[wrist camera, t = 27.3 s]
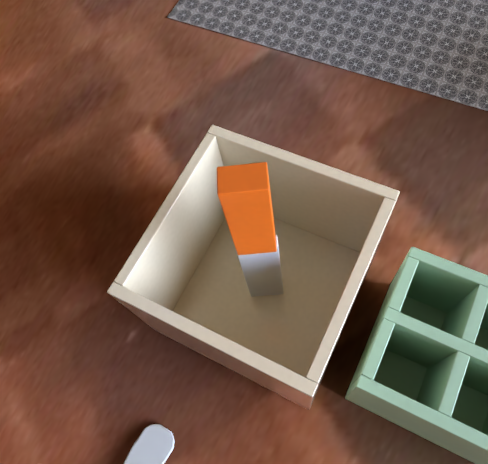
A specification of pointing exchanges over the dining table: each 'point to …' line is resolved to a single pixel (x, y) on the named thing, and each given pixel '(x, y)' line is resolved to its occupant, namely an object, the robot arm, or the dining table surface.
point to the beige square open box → (231, 275)
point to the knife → (252, 225)
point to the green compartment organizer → (430, 355)
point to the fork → (151, 446)
